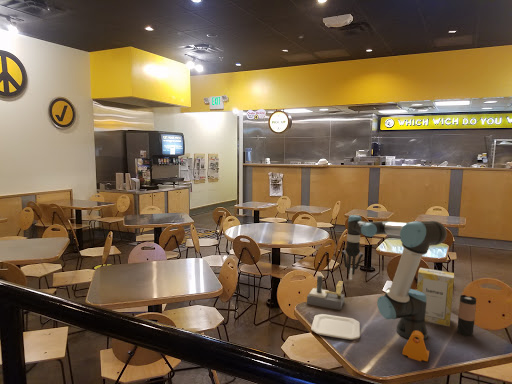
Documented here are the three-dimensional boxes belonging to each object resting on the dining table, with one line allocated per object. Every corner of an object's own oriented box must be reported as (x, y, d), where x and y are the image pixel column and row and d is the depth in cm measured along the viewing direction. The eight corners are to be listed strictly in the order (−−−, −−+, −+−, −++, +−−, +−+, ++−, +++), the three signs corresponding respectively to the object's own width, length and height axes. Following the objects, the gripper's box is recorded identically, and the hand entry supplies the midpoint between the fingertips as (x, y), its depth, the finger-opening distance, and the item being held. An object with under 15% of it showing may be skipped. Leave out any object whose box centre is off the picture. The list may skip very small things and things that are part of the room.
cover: (325, 298, 226) (326, 280, 225) (309, 295, 230) (310, 277, 229) (328, 292, 237) (329, 275, 236) (313, 290, 240) (314, 272, 239)
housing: (340, 310, 222) (341, 302, 222) (306, 304, 229) (307, 296, 229) (343, 302, 235) (344, 294, 235) (311, 296, 242) (312, 289, 242)
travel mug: (464, 337, 193) (468, 300, 191) (453, 330, 200) (456, 295, 198) (476, 336, 195) (480, 299, 193) (464, 329, 202) (468, 294, 201)
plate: (359, 323, 206) (359, 319, 206) (359, 344, 182) (360, 339, 182) (315, 316, 213) (315, 312, 212) (309, 335, 189) (310, 331, 189)
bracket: (428, 356, 173) (431, 331, 172) (427, 363, 167) (429, 337, 166) (404, 349, 178) (406, 325, 177) (402, 356, 172) (404, 331, 171)
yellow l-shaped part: (339, 300, 224) (340, 286, 223) (323, 297, 227) (324, 283, 226) (342, 295, 233) (343, 281, 232) (326, 292, 237) (327, 278, 236)
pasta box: (414, 318, 214) (418, 272, 211) (416, 312, 223) (419, 267, 220) (449, 326, 205) (454, 277, 203) (449, 319, 215) (454, 273, 212)
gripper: (365, 241, 221) (362, 279, 223) (343, 238, 225) (340, 275, 228) (364, 243, 214) (361, 283, 216) (341, 241, 218) (338, 279, 221)
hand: (350, 279), depth 222 cm, fingers closed
